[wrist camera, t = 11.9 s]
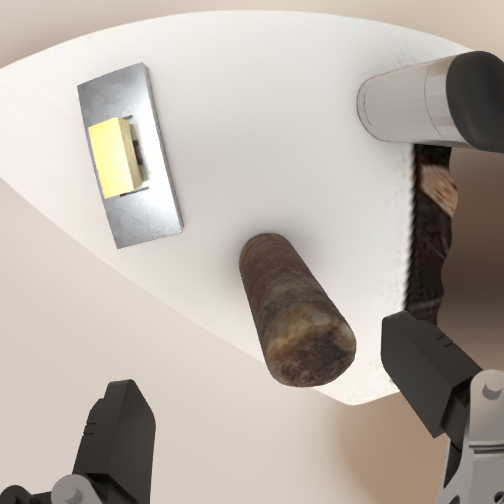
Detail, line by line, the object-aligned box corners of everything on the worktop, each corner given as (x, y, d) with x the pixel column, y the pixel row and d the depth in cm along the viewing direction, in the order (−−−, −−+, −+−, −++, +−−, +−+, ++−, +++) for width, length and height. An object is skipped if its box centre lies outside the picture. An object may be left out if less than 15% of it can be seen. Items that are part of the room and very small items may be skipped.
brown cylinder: (282, 292, 42) (334, 395, 24) (230, 280, 41) (252, 389, 22) (301, 240, 40) (375, 320, 22) (247, 225, 39) (286, 304, 20)
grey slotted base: (147, 68, 31) (142, 62, 28) (183, 225, 38) (181, 232, 35) (86, 89, 30) (77, 85, 27) (123, 241, 37) (117, 249, 34)
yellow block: (137, 123, 32) (117, 117, 24) (149, 179, 35) (133, 190, 27) (113, 130, 32) (88, 127, 24) (126, 186, 34) (104, 198, 26)
